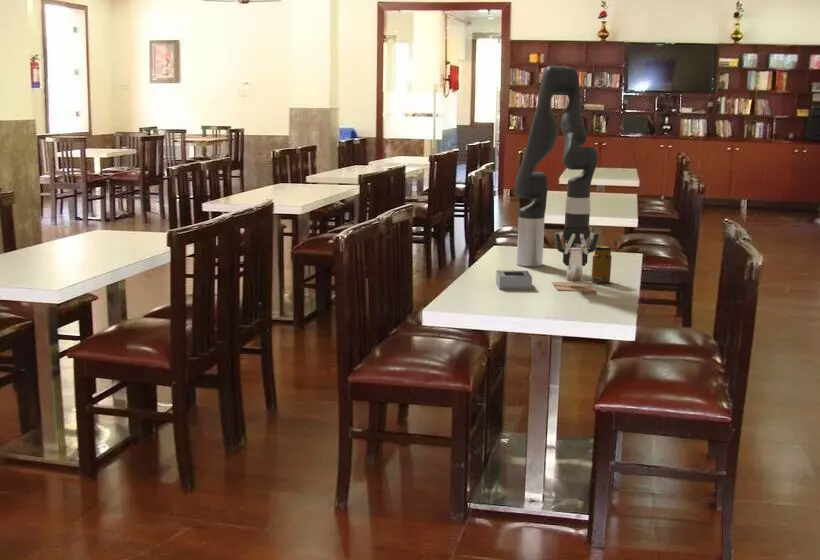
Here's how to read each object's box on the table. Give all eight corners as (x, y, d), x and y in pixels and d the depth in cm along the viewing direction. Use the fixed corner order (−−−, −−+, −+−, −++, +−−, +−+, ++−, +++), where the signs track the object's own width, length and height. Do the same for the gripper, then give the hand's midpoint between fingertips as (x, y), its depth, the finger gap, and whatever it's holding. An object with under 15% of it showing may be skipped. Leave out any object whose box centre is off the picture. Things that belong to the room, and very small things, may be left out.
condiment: (595, 279, 308) (597, 244, 306) (619, 282, 304) (621, 246, 301) (586, 283, 303) (588, 246, 300) (610, 286, 298) (612, 249, 295)
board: (551, 285, 297) (551, 282, 297) (588, 286, 297) (588, 282, 297) (557, 293, 285) (557, 290, 285) (596, 294, 285) (596, 290, 285)
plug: (565, 278, 293) (566, 247, 291) (580, 278, 293) (581, 247, 291) (567, 281, 288) (569, 250, 286) (583, 282, 288) (584, 250, 286)
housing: (495, 285, 296) (496, 270, 295) (527, 286, 296) (527, 270, 295) (499, 292, 286) (499, 276, 285) (531, 292, 286) (532, 277, 285)
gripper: (598, 210, 290) (594, 263, 293) (552, 209, 290) (550, 262, 293) (603, 213, 283) (600, 268, 286) (556, 212, 282) (554, 267, 286)
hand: (574, 265), depth 290 cm, fingers closed on plug, 4 cm apart
